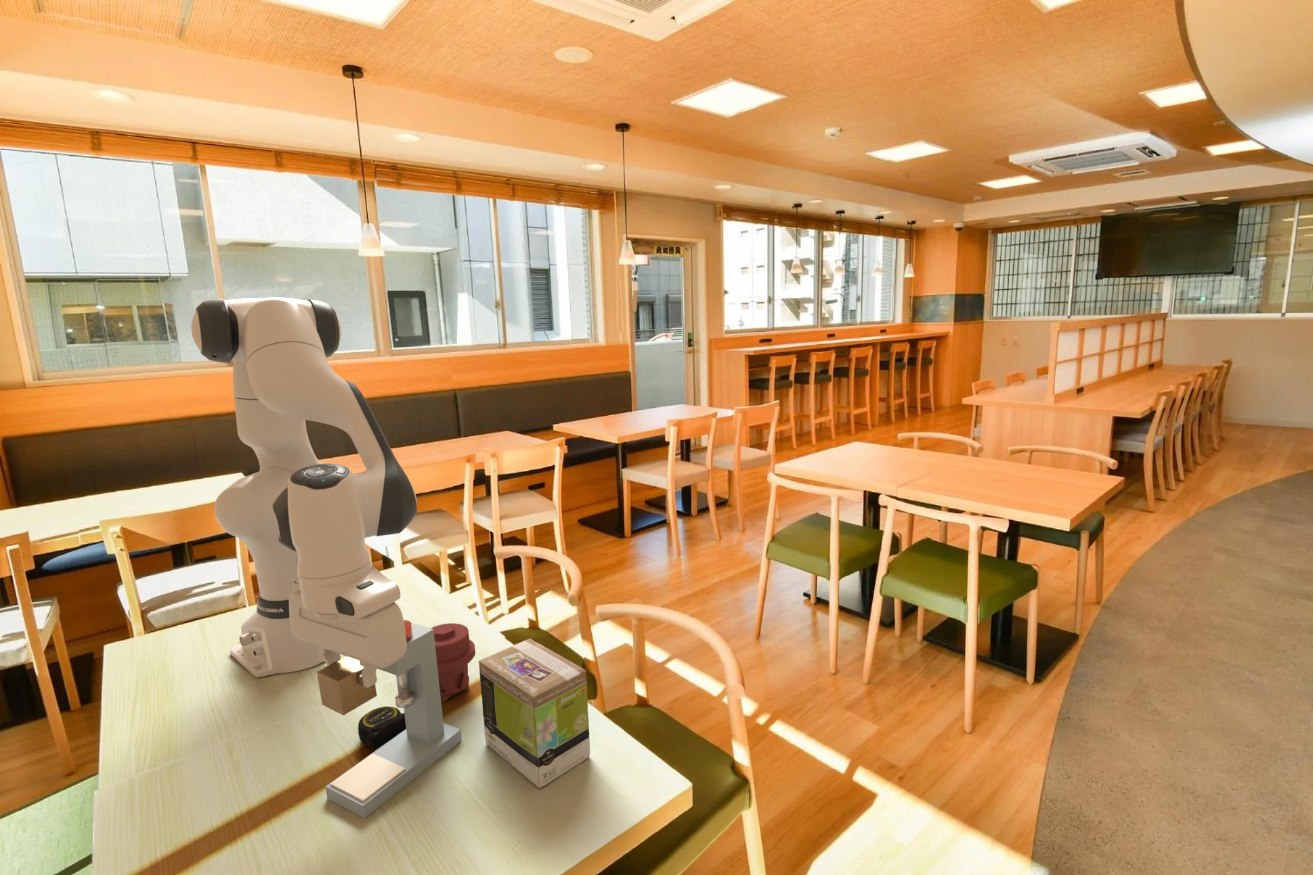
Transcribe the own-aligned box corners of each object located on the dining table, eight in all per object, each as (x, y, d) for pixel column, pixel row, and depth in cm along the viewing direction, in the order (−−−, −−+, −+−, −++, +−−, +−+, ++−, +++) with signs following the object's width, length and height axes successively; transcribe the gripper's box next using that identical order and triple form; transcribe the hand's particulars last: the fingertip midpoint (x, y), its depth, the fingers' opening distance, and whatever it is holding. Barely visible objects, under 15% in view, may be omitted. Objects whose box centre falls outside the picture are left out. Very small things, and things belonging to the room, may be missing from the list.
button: (385, 705, 98) (376, 629, 95) (407, 691, 101) (398, 617, 99) (404, 713, 96) (394, 635, 93) (425, 698, 99) (417, 623, 97)
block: (322, 704, 89) (316, 671, 88) (355, 686, 93) (350, 654, 92) (343, 715, 87) (337, 681, 86) (377, 695, 91) (371, 663, 90)
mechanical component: (488, 678, 121) (462, 710, 112) (439, 673, 123) (409, 705, 114) (482, 617, 119) (455, 645, 109) (432, 613, 121) (401, 640, 111)
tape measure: (374, 757, 101) (371, 736, 100) (351, 740, 105) (348, 720, 104) (413, 734, 106) (411, 713, 105) (390, 718, 110) (388, 699, 110)
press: (327, 798, 92) (307, 671, 88) (426, 726, 108) (414, 614, 104) (364, 818, 89) (346, 686, 85) (461, 740, 104) (450, 625, 100)
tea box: (593, 756, 100) (588, 668, 97) (538, 791, 93) (531, 698, 90) (536, 715, 110) (530, 634, 107) (483, 744, 103) (475, 659, 100)
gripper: (269, 582, 90) (285, 673, 92) (366, 609, 80) (382, 710, 83) (312, 565, 95) (326, 651, 98) (408, 588, 85) (421, 684, 88)
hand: (352, 678), depth 90 cm, fingers closed on block, 5 cm apart
